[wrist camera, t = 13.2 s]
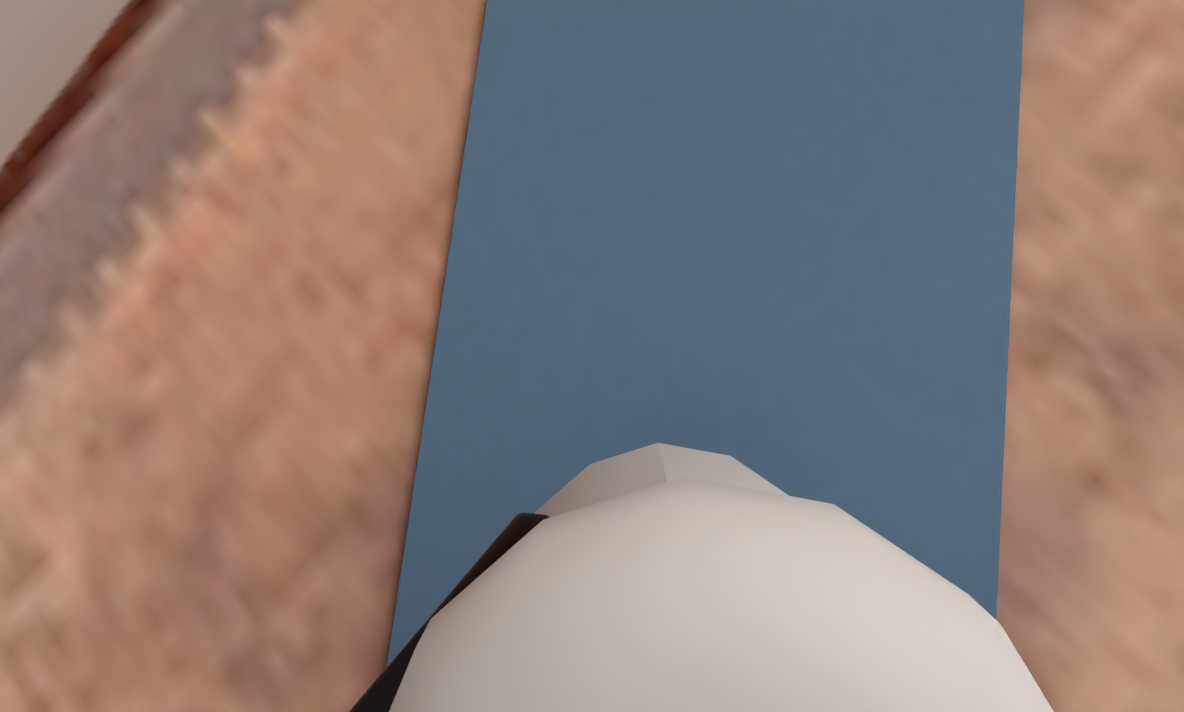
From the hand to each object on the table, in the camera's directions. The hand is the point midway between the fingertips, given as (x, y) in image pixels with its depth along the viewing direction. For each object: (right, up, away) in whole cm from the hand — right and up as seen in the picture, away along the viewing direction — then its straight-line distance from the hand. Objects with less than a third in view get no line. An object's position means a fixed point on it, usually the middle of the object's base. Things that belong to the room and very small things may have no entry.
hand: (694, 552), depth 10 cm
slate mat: (+2, +4, +13) cm, 14 cm away
